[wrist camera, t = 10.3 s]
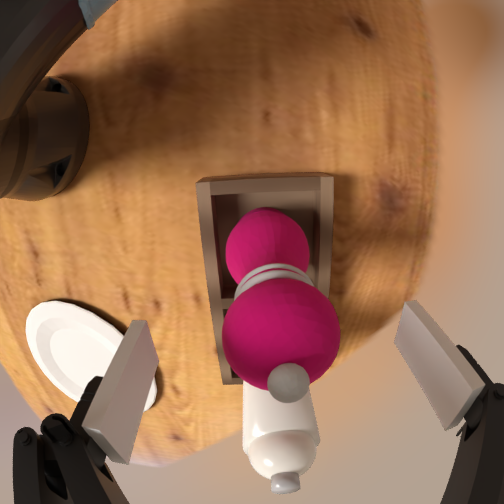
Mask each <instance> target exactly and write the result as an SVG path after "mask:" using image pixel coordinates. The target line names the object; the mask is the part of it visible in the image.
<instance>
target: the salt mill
mask: <svg viewBox="0 0 504 504" xmlns="http://www.w3.org/2000/svg"><path fill="white" fill-rule="evenodd" d="M319 443H320V437H319V431H318V427H317V422H316V417H315V413H314V408H313V404H312V400H311V395H310V390H309V389H308V392H307V393H306V395H305V396H304V397H303V398H302V399H300V400H298V401H296V402H293V403H283V402H279V401H278V400H276V399H275V398H273V397H272V395H271V394H270V392H269V391H267V390H262V389H259V388H257V387H254V386H252V385H250V384H249V383H247V382H245V381H244V380H243V450H244V452H245V453H246V454H247V455H248V457H249V460H250V463H251V465H252V467H253V468H254V469H255V470H256V472H258V473H259V474H260V475H261V476H264V477H265V478H267V479H270V480H271V489H272V492H273V493H277V494H286V493H292V492H296V491H298V490H299V489H300V481H299V476H300V475H302V474H304V473H305V472H306V471H307V470H308V469H309V468H310V467H311V465H312V464H313V462H314V459H315V456H316V447H317V446H318V444H319Z"/></svg>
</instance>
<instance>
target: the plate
mask: <svg viewBox="0 0 504 504" xmlns="http://www.w3.org/2000/svg"><path fill="white" fill-rule="evenodd" d="M26 335H27V341H28V345H29V347H30V350H31V352H32V354H33V357H34V359H35V360H36V362H37V364H38V365H39V367H40V368H41V370H42V371H43V373H44V374H45V375H46V376H47V377H48V378H49V379H50V380H51V382H52V383H53V384H54V385H55V386H56V387H58V388H59V389H60V390H61V391H62V392H64V393H65V394H66V395H67V396H69V397H70V398H72V399H73V400H75V401H76V402H79V400H80V398H81V396H82V394H83V393H84V390H85V388H86V386H87V384H88V382H90V381H91V380H92V379H93V378H94V377H95V376H101V377H104V375H105V373H106V371H107V369H108V367H109V365H110V363H111V361H112V359H113V357H114V355H115V353H116V351H117V349H118V347H119V345H120V343H121V341H122V339H123V337H124V335H123V334H122V333H121V332H120V331H119V330H118V329H117V328H116V327H115V326H113V325H112V324H110V323H109V322H107V321H106V320H104V319H103V318H101V317H100V316H98V315H97V314H95V313H94V312H91V311H89V310H87V309H85V308H82V307H80V306H78V305H76V304H73V303H68V302H63V301H58V300H55V301H47V302H42V303H40V304H39V305H37V306H36V307H34V308H33V309H32V310H31V312H30V314H29V316H28V317H27V322H26ZM156 393H157V386H156V381H155V376H154V378H153V381H152V385H151V388H150V391H149V394H148V398H147V401H146V404H145V408H144V411H143V412H145V411H147V410H148V409H149V408H150V407H151V406H152V404H153V403H154V402H155V398H156Z"/></svg>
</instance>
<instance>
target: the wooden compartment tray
mask: <svg viewBox="0 0 504 504" xmlns="http://www.w3.org/2000/svg"><path fill="white" fill-rule="evenodd" d="M196 192H197V202H198V212H199V222H200V231H201V240H202V248H203V256H204V265H205V272H206V280H207V287H208V295H209V302H210V308H211V315H212V322H213V328H214V335H215V341H216V347H217V353H218V359H219V365H220V370H221V376H222V381H223V385H231V384H243V380H242V379H241V378H240V377H239V376H238V375H237V374H236V373H235V372H234V371H233V369H232V368H231V367H230V365H229V364H228V362H227V360H226V357H225V354H224V351H223V346H222V326H223V322H224V318H225V315H226V313H227V311H228V309H229V307H230V306H231V304H232V303H233V302H234V297H235V292H236V289H237V287H238V284H237V283H236V281H235V280H234V278H233V277H232V275H231V274H230V272H229V269H228V267H227V263H226V244H227V240H228V237H229V235H230V233H231V231H232V230H233V228H234V227H235V226H236V225H237V223H238V221H239V220H240V219H241V217H242V216H244V215H245V214H246V213H248V212H249V211H251V210H253V209H256V208H261V207H269V208H274V209H277V210H279V211H281V212H283V213H284V214H285V215H287V216H288V217H290V218H291V219H293V220H294V221H295V222H296V223H297V224H298V225H299V226H300V227H301V229H302V230H303V232H304V234H305V236H306V238H307V242H308V246H309V254H310V257H309V264H308V268H307V271H306V273H305V274H306V275H307V276H308V277H309V278H310V280H311V281H312V283H313V285H314V287H316V288H317V289H318V290H319V291H320V292H321V293H322V294H323V295H325V296H326V297H327V298H328V299H329V287H330V274H331V258H332V237H333V204H334V177H333V176H330V175H327V174H325V173H322V172H304V173H268V174H248V175H231V176H217V177H205V178H202V179H201V180H199V181H198V182H196Z"/></svg>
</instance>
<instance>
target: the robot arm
mask: <svg viewBox="0 0 504 504" xmlns="http://www.w3.org/2000/svg"><path fill="white" fill-rule="evenodd" d="M116 1H118V0H0V198H11V199H18V200H25V201H38V200H42V199H45V198H48V197H51V196H53V195H55V194H57V193H59V192H60V191H62V190H63V189H64V188H65V187H66V186H67V185H68V184H69V183H70V182H71V181H72V180H73V178H74V177H75V175H76V174H77V172H78V170H79V168H80V166H81V164H82V161H83V159H84V156H85V152H86V148H87V144H88V138H89V115H88V109H87V106H86V102H85V100H84V98H83V96H82V94H81V92H80V91H79V89H78V88H77V87H76V86H75V85H74V84H72V83H71V82H69V81H67V80H64V79H61V78H56V77H51V76H46V77H44V76H45V75H46V74H47V73H48V71H49V70H50V69H51V68H52V67H53V65H54V64H55V63H56V62H57V61H58V59H59V58H60V57H61V56H62V55H63V54H64V53H65V51H66V50H67V49H68V48H69V47H70V46H71V45H72V44H73V43H74V42H75V41H76V40H77V39H78V38H79V37H80V36H81V35H82V34H83V33H84V32H85V31H86V30H87V29H88V30H89V29H91V28H92V27H93V26H94V24H95V21H96V20H97V19H98V18H99V17H100V16H101V15H102V14H103V13H104V12H106V11H107V10H108V9H109V8H110V7H111V6H112V5H113V4H114V3H115V2H116ZM394 343H395V345H396V346H397V348H398V350H399V351H400V353H401V355H402V356H403V358H404V359H405V361H406V363H407V364H408V366H409V368H410V369H411V371H412V373H413V374H414V376H415V378H416V379H417V381H418V383H419V384H420V386H421V388H422V390H423V391H424V393H425V395H426V397H427V398H428V400H429V402H430V404H431V406H432V407H433V409H434V411H435V413H436V415H437V416H438V418H439V420H440V422H441V424H442V426H443V427H444V430H445V431H446V430H448V429H451V428H453V427H455V426H457V425H458V424H459V423H460V421H461V420H462V419H463V417H464V419H465V420H466V422H465V424H464V425H463V426H462V427H461V429H460V430H459V431H458V433H457V435H456V436H459V434H460V433H461V432H462V435H461V439H460V444H459V447H458V452H457V455H456V459H455V462H454V466H453V469H452V472H451V475H450V478H449V482H448V484H447V487H446V490H445V493H444V495H443V498H442V501H441V503H440V504H504V385H503V384H501V383H495V384H494V383H493V382H492V381H491V380H490V378H489V377H488V376H487V374H486V373H485V372H484V371H483V369H482V368H481V367H480V365H479V364H477V362H476V360H475V359H474V358H473V357H472V355H471V354H470V353H469V352H468V351H467V350H466V349H465V348H463V347H462V346H460V345H457V346H455V345H454V343H453V342H452V341H451V340H450V339H449V337H448V336H447V335H446V334H445V333H444V331H443V330H442V329H441V328H440V327H439V325H438V324H437V323H436V322H435V321H434V320H433V318H432V317H431V316H430V315H429V314H428V313H427V312H426V311H425V309H424V308H423V307H422V306H421V305H420V304H419V303H418V302H417V301H416V300H413V301H407V302H405V303H404V307H403V311H402V315H401V319H400V323H399V326H398V330H397V334H396V337H395V340H394ZM158 363H159V359H158V356H157V353H156V350H155V347H154V344H153V341H152V337H151V334H150V331H149V328H148V324H147V321H146V320H132V322H131V324H130V326H129V328H128V330H127V332H126V333H125V335H124V337H123V339H122V341H121V343H120V345H119V347H118V349H117V351H116V353H115V355H114V357H113V359H112V361H111V363H110V365H109V367H108V369H107V371H106V373H105V375H104V377H101V376H95V377H94V378H93V379H92V380H91V381H90V382H88V384H87V386H86V388H85V390H84V393H83V394H82V396H81V398H80V400H79V402H78V404H77V406H76V408H75V410H74V412H73V414H72V417H71V419H70V421H69V420H68V419H67V418H66V417H65V416H64V415H62V414H58V413H55V414H51V415H49V416H47V417H46V418H45V419H44V420H43V421H42V424H41V432H42V434H43V435H38V434H37V433H36V432H35V431H34V430H33V429H32V428H30V427H24V428H21V429H20V430H18V431H17V433H16V434H15V437H14V444H13V489H14V490H13V491H14V504H129V502H128V501H127V499H126V497H125V496H124V494H123V492H122V491H121V489H120V487H119V486H118V484H117V482H116V481H115V479H114V477H113V475H112V473H111V471H110V469H109V468H108V466H107V464H106V463H105V458H106V455H107V456H108V457H109V459H110V460H111V461H113V462H117V463H122V464H126V465H128V464H129V461H130V457H131V454H132V450H133V446H134V442H135V439H136V435H137V432H138V428H139V425H140V421H141V418H142V414H143V411H144V408H145V404H146V401H147V398H148V394H149V391H150V388H151V385H152V381H153V378H154V375H155V372H156V369H157V366H158Z"/></svg>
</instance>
